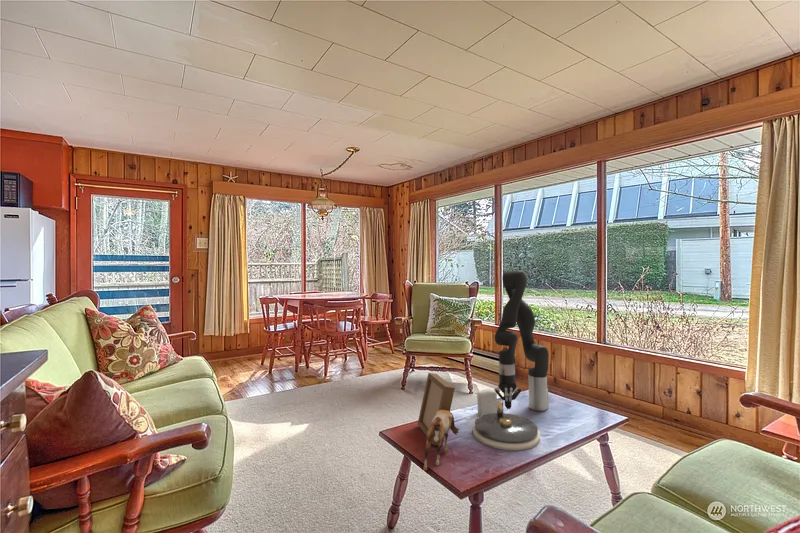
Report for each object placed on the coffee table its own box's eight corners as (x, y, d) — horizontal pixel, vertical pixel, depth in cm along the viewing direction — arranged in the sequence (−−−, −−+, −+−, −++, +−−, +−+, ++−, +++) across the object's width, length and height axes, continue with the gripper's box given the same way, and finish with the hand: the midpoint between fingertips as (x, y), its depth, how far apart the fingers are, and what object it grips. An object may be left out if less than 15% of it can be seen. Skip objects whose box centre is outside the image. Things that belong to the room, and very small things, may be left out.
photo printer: (480, 416, 186) (479, 391, 186) (476, 413, 190) (475, 389, 190) (498, 414, 188) (498, 389, 188) (494, 410, 192) (494, 387, 192)
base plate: (506, 416, 185) (505, 412, 185) (555, 439, 160) (554, 434, 160) (459, 429, 171) (459, 425, 171) (505, 457, 146) (505, 452, 146)
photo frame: (433, 447, 154) (432, 387, 155) (417, 426, 175) (417, 373, 176) (465, 443, 158) (465, 384, 158) (446, 422, 179) (446, 371, 179)
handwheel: (471, 416, 180) (471, 400, 180) (527, 416, 178) (527, 401, 178) (479, 442, 153) (479, 424, 153) (546, 443, 151) (546, 425, 151)
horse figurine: (434, 481, 131) (439, 424, 130) (414, 474, 134) (419, 418, 133) (458, 442, 159) (463, 395, 158) (441, 437, 162) (445, 391, 161)
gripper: (518, 369, 181) (519, 404, 181) (491, 370, 181) (492, 405, 181) (523, 374, 173) (524, 411, 174) (495, 375, 173) (496, 411, 174)
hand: (508, 408), depth 177 cm, fingers closed
